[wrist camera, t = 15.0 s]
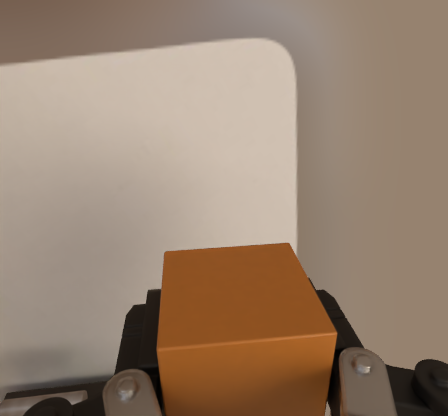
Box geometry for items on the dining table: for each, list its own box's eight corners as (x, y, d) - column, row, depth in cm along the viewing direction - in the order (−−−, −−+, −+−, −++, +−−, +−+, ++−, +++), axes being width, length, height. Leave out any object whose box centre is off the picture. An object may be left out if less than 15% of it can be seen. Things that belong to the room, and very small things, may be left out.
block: (289, 241, 13) (338, 332, 9) (282, 335, 15) (321, 445, 11) (164, 250, 13) (156, 350, 9) (173, 345, 15) (170, 464, 11)
